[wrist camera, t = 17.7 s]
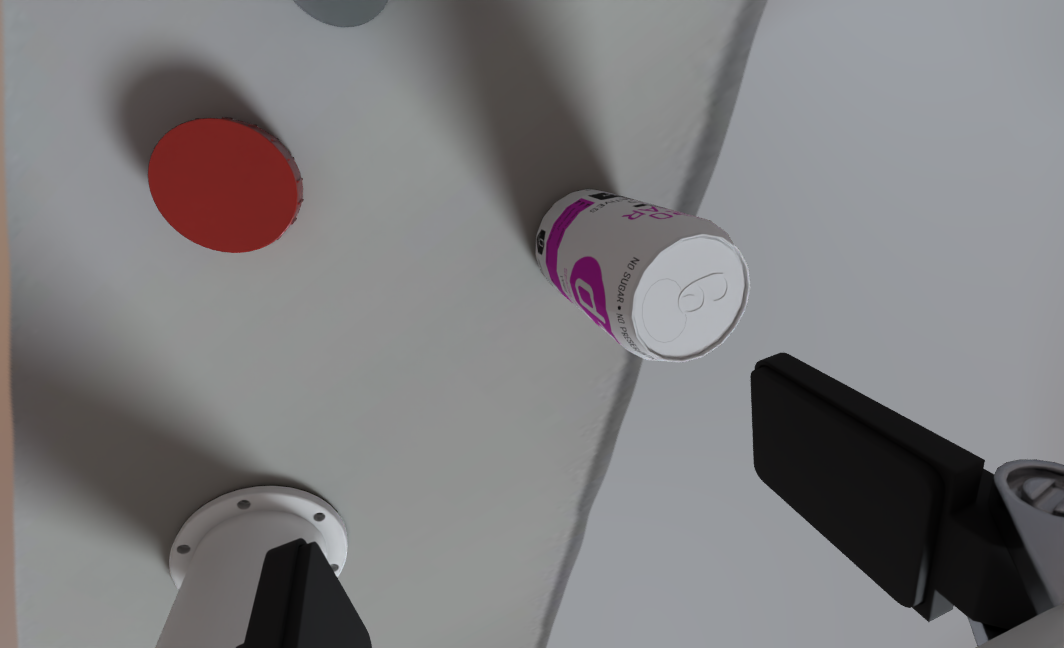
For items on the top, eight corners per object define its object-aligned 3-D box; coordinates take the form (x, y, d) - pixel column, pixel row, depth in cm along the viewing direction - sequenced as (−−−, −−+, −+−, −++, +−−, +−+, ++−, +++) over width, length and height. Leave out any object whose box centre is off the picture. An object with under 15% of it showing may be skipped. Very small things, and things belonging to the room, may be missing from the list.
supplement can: (550, 307, 40) (640, 396, 27) (518, 210, 37) (604, 258, 23) (638, 269, 41) (766, 336, 28) (616, 172, 38) (750, 196, 25)
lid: (134, 151, 29) (111, 153, 26) (257, 96, 30) (246, 93, 27) (219, 263, 32) (206, 275, 30) (327, 212, 33) (324, 218, 30)
